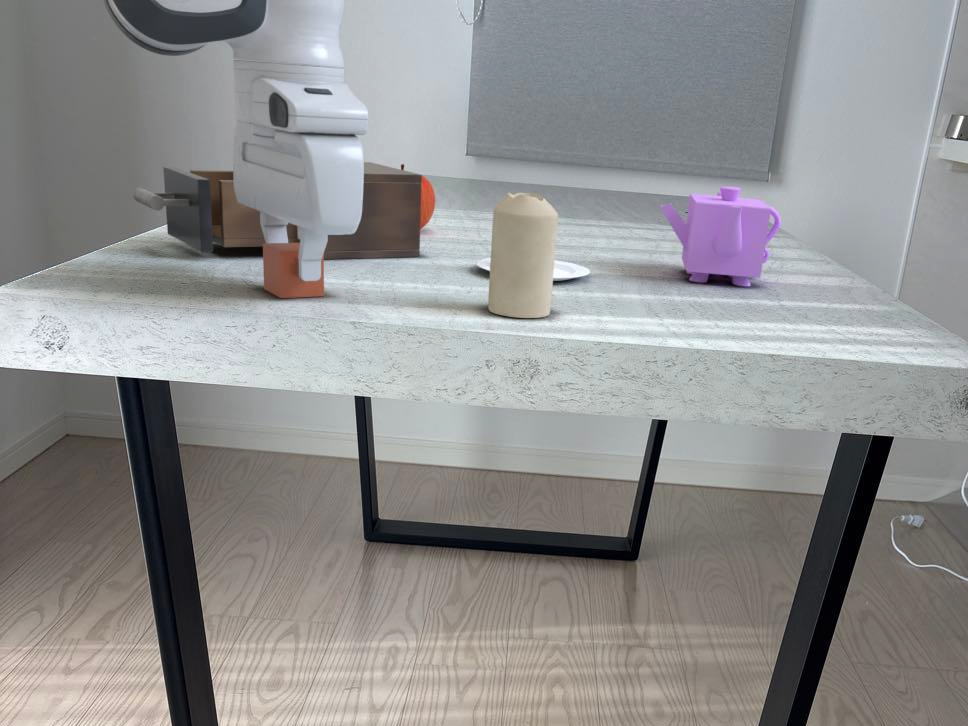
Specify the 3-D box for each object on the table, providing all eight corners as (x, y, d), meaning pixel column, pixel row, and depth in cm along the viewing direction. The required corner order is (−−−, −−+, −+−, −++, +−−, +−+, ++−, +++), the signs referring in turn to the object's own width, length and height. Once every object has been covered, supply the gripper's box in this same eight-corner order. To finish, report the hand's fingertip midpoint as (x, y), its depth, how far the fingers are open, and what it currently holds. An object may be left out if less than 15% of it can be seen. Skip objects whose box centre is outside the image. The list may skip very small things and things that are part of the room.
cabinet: (302, 259, 109) (301, 172, 105) (259, 240, 118) (256, 159, 115) (419, 256, 116) (422, 174, 113) (370, 238, 125) (370, 162, 122)
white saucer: (467, 262, 115) (469, 221, 113) (573, 266, 118) (577, 226, 116) (486, 283, 105) (488, 238, 103) (602, 287, 107) (606, 243, 106)
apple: (431, 237, 130) (433, 169, 127) (366, 232, 130) (366, 163, 127) (437, 228, 137) (439, 164, 134) (374, 224, 137) (375, 159, 134)
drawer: (160, 253, 101) (155, 178, 99) (129, 234, 110) (123, 165, 107) (321, 249, 110) (320, 181, 107) (280, 232, 119) (279, 169, 116)
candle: (545, 321, 90) (554, 199, 86) (482, 314, 91) (488, 193, 87) (554, 309, 95) (563, 193, 91) (494, 303, 96) (501, 187, 92)
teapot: (650, 260, 126) (660, 174, 122) (760, 270, 125) (774, 184, 122) (655, 287, 109) (667, 188, 105) (782, 298, 109) (799, 200, 105)
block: (280, 298, 91) (279, 250, 89) (263, 289, 94) (262, 243, 92) (324, 296, 93) (323, 249, 91) (306, 287, 96) (305, 242, 94)
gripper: (211, 93, 93) (219, 253, 99) (301, 108, 78) (303, 297, 83) (280, 97, 96) (283, 252, 102) (378, 113, 81) (376, 293, 87)
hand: (293, 272), depth 93 cm, fingers open, 5 cm apart
